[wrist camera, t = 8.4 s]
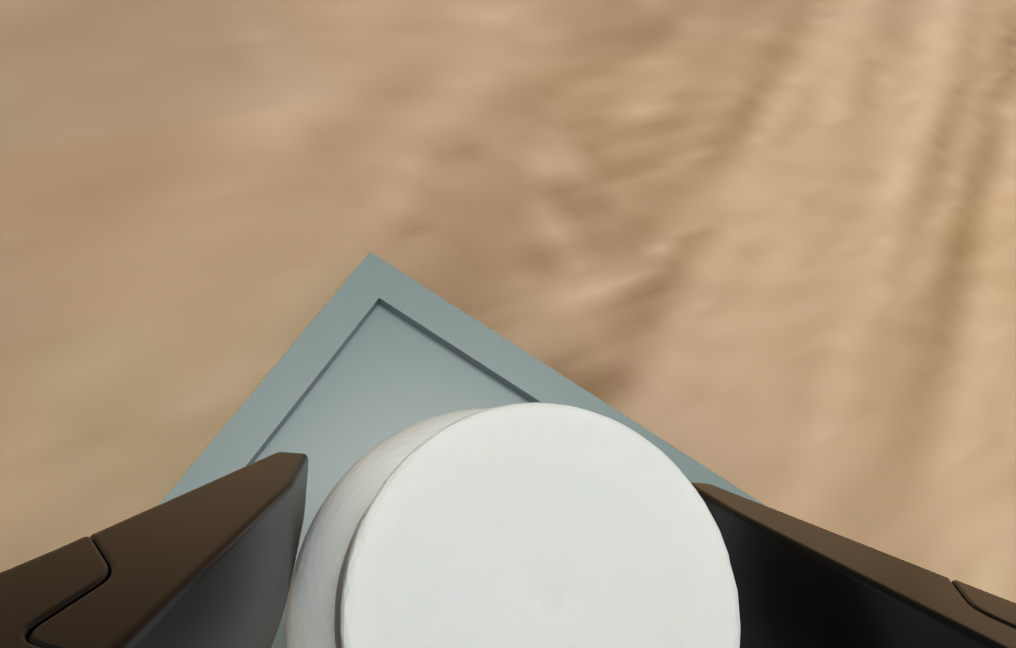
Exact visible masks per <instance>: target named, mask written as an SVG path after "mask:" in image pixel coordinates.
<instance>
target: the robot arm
mask: <svg viewBox="0 0 1016 648" xmlns="http://www.w3.org/2000/svg"><path fill="white" fill-rule="evenodd" d="M307 477H308V457H307V455H306V454H303V453H291V452H277V453H275V454H272V455H270V456H268V457H266V458H263V459H261V460H259V461H257V462H254V463H252V464H250V465H248V466H245V467H243V468H241V469H239V470H237V471H234V472H232V473H230V474H228V475H225V476H223V477H221V478H219V479H216V480H214V481H212V482H210V483H207V484H205V485H203V486H201V487H198V488H196V489H194V490H192V491H189V492H187V493H185V494H183V495H180V496H178V497H176V498H174V499H171V500H169V501H167V502H165V503H162V504H160V505H158V506H156V507H153V508H151V509H149V510H147V511H144V512H142V513H140V514H138V515H135V516H133V517H131V518H129V519H127V520H124V521H122V522H120V523H118V524H115V525H113V526H111V527H109V528H106V529H104V530H102V531H100V532H97V533H95V534H93V535H92V536H91V537H83V538H81V539H79V540H77V541H74V542H72V543H70V544H68V545H66V546H63V547H61V548H59V549H56V550H54V551H52V552H49V553H47V554H45V555H42V556H40V557H37V558H35V559H33V560H30V561H28V562H26V563H23V564H21V565H18V566H16V567H14V568H11V569H9V570H6V571H3V572H1V573H0V648H271V647H272V644H273V641H274V639H275V636H276V633H277V631H278V628H279V625H280V622H281V619H282V616H283V613H284V609H285V605H286V601H287V597H288V593H289V588H290V583H291V579H292V574H293V569H294V564H295V559H296V554H297V550H298V545H299V540H300V535H301V530H302V525H303V520H304V513H305V503H306V490H307ZM690 483H691V484H692V485H693V486H694V488H695V489H696V490H697V492H698V493H699V495H700V496H701V498H702V499H703V501H704V502H705V504H706V506H707V507H708V509H709V511H710V513H711V515H712V516H713V518H714V520H715V522H716V524H717V526H718V528H719V530H720V532H721V535H722V538H723V541H724V543H725V546H726V549H727V551H728V554H729V560H730V565H731V568H732V572H733V575H734V579H735V583H736V586H737V590H738V601H739V614H740V627H741V631H740V648H1016V603H1013V602H1011V601H1008V600H1006V599H1003V598H1000V597H998V596H995V595H993V594H990V593H987V592H985V591H982V590H980V589H977V588H975V587H972V586H970V585H967V584H965V583H962V582H959V581H957V580H954V581H952V582H951V581H950V580H949V579H948V578H947V577H944V576H941V575H939V574H936V573H934V572H931V571H929V570H926V569H924V568H921V567H919V566H916V565H914V564H911V563H909V562H906V561H904V560H901V559H898V558H896V557H893V556H891V555H888V554H886V553H883V552H881V551H878V550H876V549H873V548H871V547H868V546H866V545H863V544H861V543H858V542H855V541H853V540H850V539H848V538H845V537H843V536H840V535H838V534H835V533H833V532H830V531H828V530H825V529H823V528H820V527H817V526H815V525H812V524H810V523H807V522H805V521H802V520H800V519H797V518H795V517H792V516H790V515H787V514H785V513H782V512H780V511H777V510H774V509H772V508H769V507H767V506H764V505H762V504H759V503H757V502H754V501H752V500H749V499H747V498H744V497H742V496H739V495H736V494H734V493H731V492H729V491H726V490H724V489H721V488H719V487H716V486H714V485H711V484H706V483H694V482H690Z"/></svg>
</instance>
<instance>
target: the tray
mask: <svg viewBox="0 0 1016 648" xmlns="http://www.w3.org/2000/svg"><path fill="white" fill-rule="evenodd" d="M533 402H538V403H551V404H561V405H568V406H573V407H578V408H581V409H585V410H588V411H591V412H595V413H598V414H601V415H603V416H606V417H608V418H611V419H613V420H615V421H617V422H619V423H621V424H623V425H625V426H627V427H628V428H630V429H632V430H633V431H635V432H637V433H638V434H640V435H641V436H643V437H644V438H645V439H647V440H648V441H649V442H651V443H652V444H653V445H655V446H656V447H657V448H659V449H660V450H661V451H662V452H663V453H664V454H665V455H666V456H667V457H668V458H669V459H670V460H671V461H672V462H673V463H674V464H675V465H676V466H677V467H678V468H679V469H680V470H681V472H682V473H683V474H684V475H685V476H686V478H687V479H688V480H689V481H690V482H694V483H706V484H711V485H714V486H716V487H719V488H721V489H724V490H726V491H729V492H731V493H734V494H736V495H739V496H742V497H744V498H747V499H749V500H752V501H754V502H757V503H759V504H762V503H760V502H759V501H757V500H756V499H754V498H753V497H751V496H750V495H748V494H746V493H745V492H743V491H742V490H740V489H739V488H737V487H736V486H734V485H732V484H731V483H729V482H728V481H726V480H725V479H723V478H722V477H720V476H718V475H717V474H715V473H714V472H712V471H711V470H709V469H707V468H706V467H704V466H703V465H701V464H700V463H698V462H697V461H695V460H693V459H692V458H690V457H689V456H687V455H686V454H684V453H683V452H681V451H679V450H678V449H676V448H675V447H673V446H672V445H670V444H669V443H667V442H665V441H664V440H662V439H661V438H659V437H658V436H656V435H655V434H653V433H651V432H650V431H648V430H647V429H645V428H644V427H642V426H641V425H639V424H637V423H636V422H634V421H633V420H631V419H630V418H628V417H626V416H625V415H623V414H622V413H620V412H619V411H617V410H616V409H614V408H612V407H611V406H609V405H608V404H606V403H605V402H603V401H602V400H600V399H598V398H597V397H595V396H594V395H592V394H591V393H589V392H588V391H586V390H584V389H583V388H581V387H580V386H578V385H577V384H575V383H574V382H572V381H570V380H569V379H567V378H566V377H564V376H563V375H561V374H560V373H558V372H556V371H555V370H553V369H552V368H550V367H549V366H547V365H545V364H544V363H542V362H541V361H539V360H538V359H536V358H535V357H533V356H531V355H530V354H528V353H527V352H525V351H524V350H522V349H521V348H519V347H517V346H516V345H514V344H513V343H511V342H510V341H508V340H507V339H505V338H503V337H502V336H500V335H499V334H497V333H496V332H494V331H493V330H491V329H489V328H488V327H486V326H485V325H483V324H482V323H480V322H479V321H477V320H475V319H474V318H472V317H471V316H469V315H468V314H466V313H464V312H463V311H461V310H460V309H458V308H457V307H455V306H454V305H452V304H450V303H449V302H447V301H446V300H444V299H443V298H441V297H440V296H438V295H436V294H435V293H433V292H432V291H430V290H429V289H427V288H426V287H424V286H422V285H421V284H419V283H418V282H416V281H415V280H413V279H412V278H410V277H408V276H407V275H405V274H404V273H402V272H401V271H399V270H398V269H396V268H394V267H393V266H391V265H390V264H388V263H387V262H385V261H383V260H382V259H380V258H379V257H377V256H376V255H374V254H373V253H371V252H370V253H369V254H368V255H367V256H366V257H365V259H364V260H363V261H362V262H361V263H360V265H359V266H358V267H357V268H356V269H355V271H354V272H353V273H352V274H351V275H350V277H349V278H348V279H347V280H346V281H345V283H344V284H343V285H342V286H341V287H340V289H339V290H338V291H337V292H336V293H335V295H334V296H333V297H332V298H331V299H330V301H329V302H328V303H327V304H326V305H325V307H324V308H323V309H322V310H321V311H320V313H319V314H318V315H317V316H316V317H315V319H314V320H313V321H312V322H311V323H310V325H309V326H308V327H307V328H306V329H305V331H304V332H303V333H302V334H301V335H300V337H299V338H298V339H297V340H296V341H295V343H294V344H293V345H292V346H291V347H290V349H289V350H288V351H287V352H286V353H285V355H284V356H283V357H282V358H281V359H280V361H279V362H278V363H277V364H276V365H275V367H274V368H273V369H272V370H271V371H270V373H269V374H268V375H267V376H266V377H265V379H264V380H263V381H262V382H261V383H260V385H259V386H258V387H257V388H256V389H255V391H254V392H253V393H252V394H251V395H250V397H249V398H248V399H247V400H246V401H245V403H244V404H243V405H242V406H241V407H240V409H239V410H238V411H237V412H236V413H235V415H234V416H233V417H232V418H231V419H230V421H229V422H228V423H227V424H226V425H225V427H224V428H223V429H222V430H221V431H220V433H219V434H218V435H217V436H216V437H215V439H214V440H213V441H212V442H211V443H210V445H209V446H208V447H207V448H206V449H205V451H204V452H203V453H202V454H201V455H200V457H199V458H198V459H197V460H196V461H195V463H194V464H193V465H192V466H191V467H190V469H189V470H188V471H187V472H186V473H185V475H184V476H183V477H182V478H181V479H180V481H179V482H178V483H177V484H176V485H175V487H174V488H173V489H172V490H171V491H170V493H169V494H168V495H167V496H166V497H165V498H164V500H163V501H162V502H161V503H160V504H162V503H165V502H167V501H169V500H171V499H174V498H176V497H178V496H180V495H183V494H185V493H187V492H189V491H192V490H194V489H196V488H198V487H201V486H203V485H205V484H207V483H210V482H212V481H214V480H216V479H219V478H221V477H223V476H225V475H228V474H230V473H232V472H234V471H237V470H239V469H241V468H243V467H245V466H248V465H250V464H252V463H254V462H257V461H259V460H261V459H263V458H266V457H268V456H270V455H272V454H275V453H277V452H291V453H303V454H306V455H307V457H308V477H307V490H306V503H305V513H304V520H303V525H302V530H301V535H300V540H299V545H298V550H297V554H296V559H295V563H296V560H297V557H298V554H299V551H300V549H301V546H302V543H303V541H304V538H305V536H306V534H307V531H308V529H309V527H310V525H311V523H312V521H313V519H314V517H315V515H316V514H317V512H318V510H319V508H320V507H321V505H322V504H323V502H324V501H325V499H326V498H327V496H328V495H329V493H330V492H331V490H332V489H333V488H334V487H335V485H336V484H337V483H338V482H339V481H340V479H341V478H342V477H343V476H344V475H345V474H346V473H347V472H348V470H349V469H350V468H351V467H352V466H353V465H354V464H355V463H356V462H357V461H358V460H360V459H361V458H362V457H363V456H364V455H366V454H367V453H368V452H369V451H370V450H371V449H373V448H374V447H376V446H377V445H378V444H380V443H381V442H383V441H384V440H385V439H387V438H388V437H390V436H392V435H394V434H396V433H397V432H399V431H401V430H403V429H405V428H407V427H409V426H411V425H413V424H415V423H418V422H420V421H423V420H426V419H429V418H432V417H435V416H438V415H442V414H446V413H450V412H454V411H460V410H468V409H480V408H495V407H500V406H505V405H510V404H519V403H533ZM160 504H159V505H160ZM762 505H764V504H762ZM764 506H765V505H764ZM294 566H295V564H294ZM293 570H294V569H293ZM292 575H293V574H292ZM289 589H290V588H289ZM288 596H289V593H288ZM287 603H288V597H287V601H286V605H285V609H284V613H283V616H282V619H281V622H280V625H279V628H278V631H277V633H276V636H275V639H274V641H273V644H272V647H271V648H286V614H287Z"/></svg>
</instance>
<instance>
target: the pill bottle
mask: <svg viewBox="0 0 1016 648" xmlns="http://www.w3.org/2000/svg"><path fill="white" fill-rule="evenodd" d="M740 631H741V627H740V614H739V601H738V590H737V586H736V583H735V579H734V575H733V572H732V568H731V565H730V560H729V554H728V551H727V549H726V546H725V543H724V541H723V538H722V535H721V532H720V530H719V528H718V526H717V524H716V522H715V520H714V518H713V516H712V515H711V513H710V511H709V509H708V507H707V506H706V504H705V502H704V501H703V499H702V498H701V496H700V495H699V493H698V492H697V490H696V489H695V488H694V486H693V485H692V484H691V483H690V481H689V480H688V479H687V478H686V476H685V475H684V474H683V473H682V472H681V470H680V469H679V468H678V467H677V466H676V465H675V464H674V463H673V462H672V461H671V460H670V459H669V458H668V457H667V456H666V455H665V454H664V453H663V452H662V451H661V450H660V449H659V448H657V447H656V446H655V445H653V444H652V443H651V442H649V441H648V440H647V439H645V438H644V437H643V436H641V435H640V434H638V433H637V432H635V431H633V430H632V429H630V428H628V427H627V426H625V425H623V424H621V423H619V422H617V421H615V420H613V419H611V418H608V417H606V416H603V415H601V414H598V413H595V412H591V411H588V410H585V409H581V408H578V407H573V406H568V405H561V404H551V403H538V402H533V403H519V404H510V405H505V406H500V407H495V408H480V409H468V410H460V411H454V412H450V413H446V414H442V415H438V416H435V417H432V418H429V419H426V420H423V421H420V422H418V423H415V424H413V425H411V426H409V427H407V428H405V429H403V430H401V431H399V432H397V433H396V434H394V435H392V436H390V437H388V438H387V439H385V440H384V441H383V442H381V443H380V444H378V445H377V446H376V447H374V448H373V449H371V450H370V451H369V452H368V453H367V454H366V455H364V456H363V457H362V458H361V459H360V460H358V461H357V462H356V463H355V464H354V465H353V466H352V467H351V468H350V469H349V470H348V472H347V473H346V474H345V475H344V476H343V477H342V478H341V479H340V481H339V482H338V483H337V484H336V485H335V487H334V488H333V489H332V490H331V492H330V493H329V495H328V496H327V498H326V499H325V501H324V502H323V504H322V505H321V507H320V508H319V510H318V512H317V514H316V515H315V517H314V519H313V521H312V523H311V525H310V527H309V529H308V531H307V534H306V536H305V538H304V541H303V543H302V546H301V549H300V551H299V554H298V557H297V560H296V563H295V566H294V570H293V575H292V579H291V583H290V589H289V596H288V603H287V614H286V648H740Z"/></svg>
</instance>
